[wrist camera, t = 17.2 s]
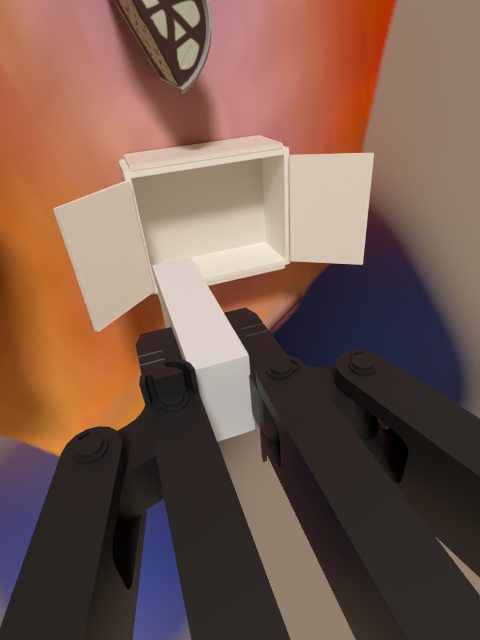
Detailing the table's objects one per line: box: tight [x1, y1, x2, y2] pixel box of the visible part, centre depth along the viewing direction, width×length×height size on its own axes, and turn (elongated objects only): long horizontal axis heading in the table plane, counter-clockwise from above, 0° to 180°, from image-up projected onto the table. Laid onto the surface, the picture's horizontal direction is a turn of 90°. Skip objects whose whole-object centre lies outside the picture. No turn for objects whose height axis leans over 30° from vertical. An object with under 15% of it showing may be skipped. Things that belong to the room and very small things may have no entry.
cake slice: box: [113, 0, 212, 95], centre depth 36 cm, size 12×6×10 cm, turn 31°
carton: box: [118, 135, 290, 297], centre depth 48 cm, size 18×15×8 cm
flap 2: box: [289, 153, 374, 264], centre depth 46 cm, size 9×13×1 cm
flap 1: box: [53, 181, 154, 332], centre depth 40 cm, size 9×13×1 cm
